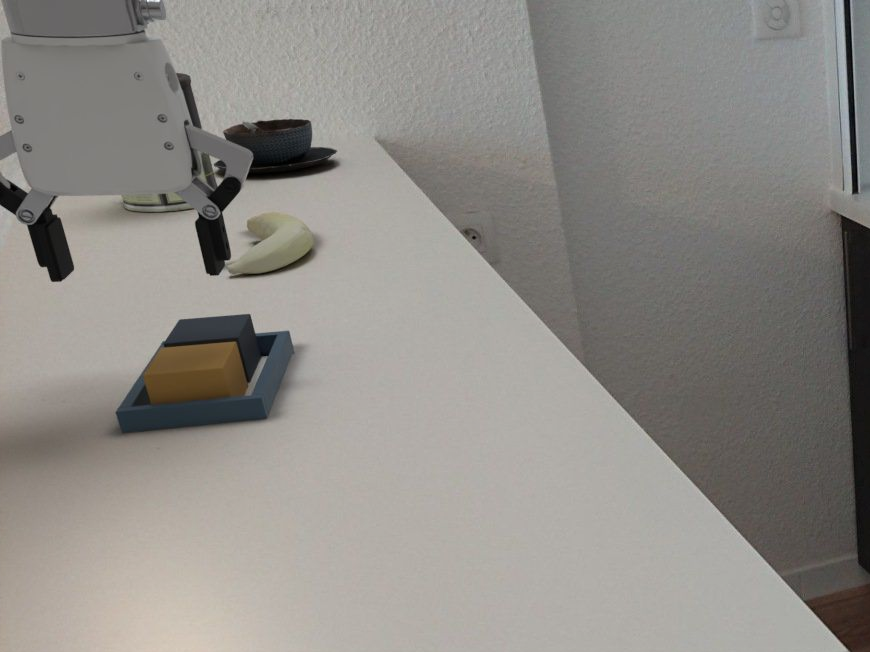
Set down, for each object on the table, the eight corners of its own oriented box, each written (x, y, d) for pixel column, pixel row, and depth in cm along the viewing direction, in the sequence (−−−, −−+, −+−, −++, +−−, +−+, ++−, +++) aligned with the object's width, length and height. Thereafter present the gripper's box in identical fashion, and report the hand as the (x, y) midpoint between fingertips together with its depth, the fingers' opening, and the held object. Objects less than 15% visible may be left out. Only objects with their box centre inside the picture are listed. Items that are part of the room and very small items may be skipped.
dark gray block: (251, 387, 97) (238, 337, 95) (177, 394, 96) (162, 343, 94) (262, 361, 102) (250, 313, 101) (192, 368, 101) (179, 319, 99)
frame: (270, 430, 91) (261, 397, 90) (125, 445, 89) (114, 411, 87) (296, 359, 104) (289, 330, 103) (171, 371, 102) (162, 341, 101)
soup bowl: (363, 160, 176) (351, 103, 172) (283, 184, 162) (269, 123, 158) (269, 154, 178) (256, 98, 175) (182, 177, 165) (166, 117, 161)
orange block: (237, 420, 91) (222, 367, 90) (158, 428, 90) (142, 375, 88) (249, 391, 97) (236, 341, 95) (175, 398, 95) (160, 347, 93)
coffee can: (165, 191, 158) (132, 70, 151) (240, 195, 156) (210, 73, 150) (101, 210, 149) (63, 82, 142) (180, 214, 147) (145, 86, 141)
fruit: (324, 235, 139) (317, 205, 138) (308, 272, 127) (300, 238, 125) (251, 240, 137) (243, 209, 136) (227, 278, 125) (218, 244, 123)
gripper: (232, 12, 89) (282, 255, 97) (-60, 8, 84) (16, 264, 92) (212, 24, 83) (267, 282, 91) (-106, 20, 78) (-19, 294, 86)
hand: (141, 273), depth 91 cm, fingers open, 9 cm apart
